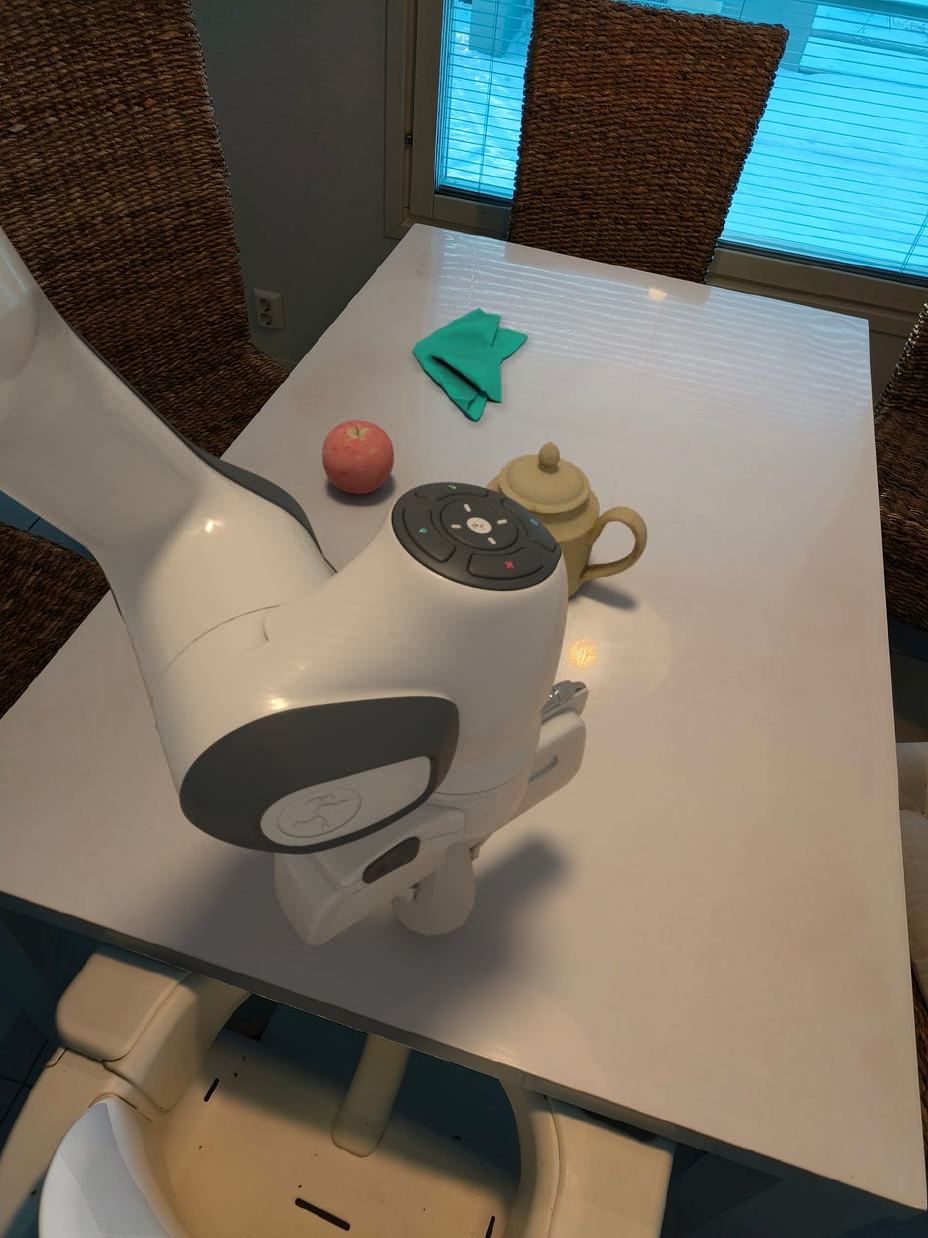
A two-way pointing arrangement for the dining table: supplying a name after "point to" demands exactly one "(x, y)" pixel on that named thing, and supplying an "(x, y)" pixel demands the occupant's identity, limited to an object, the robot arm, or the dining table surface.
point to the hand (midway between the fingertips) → (434, 873)
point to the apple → (357, 456)
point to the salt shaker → (441, 895)
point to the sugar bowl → (568, 511)
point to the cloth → (469, 358)
